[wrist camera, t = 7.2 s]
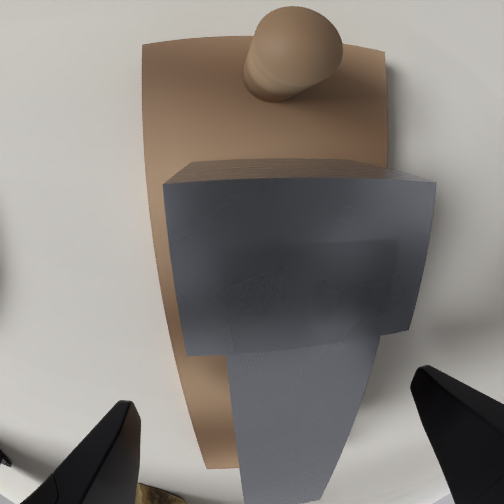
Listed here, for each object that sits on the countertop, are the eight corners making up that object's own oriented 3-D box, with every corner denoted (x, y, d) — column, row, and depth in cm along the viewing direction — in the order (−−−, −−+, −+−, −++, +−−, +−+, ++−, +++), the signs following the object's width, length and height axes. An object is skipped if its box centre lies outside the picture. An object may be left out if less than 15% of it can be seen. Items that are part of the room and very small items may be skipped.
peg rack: (325, 442, 15) (343, 496, 11) (206, 455, 14) (207, 513, 10) (370, 58, 8) (445, 29, 4) (150, 53, 7) (106, 4, 3)
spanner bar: (314, 428, 12) (336, 495, 9) (223, 438, 12) (228, 511, 8) (348, 159, 8) (436, 182, 4) (190, 162, 8) (162, 183, 4)
